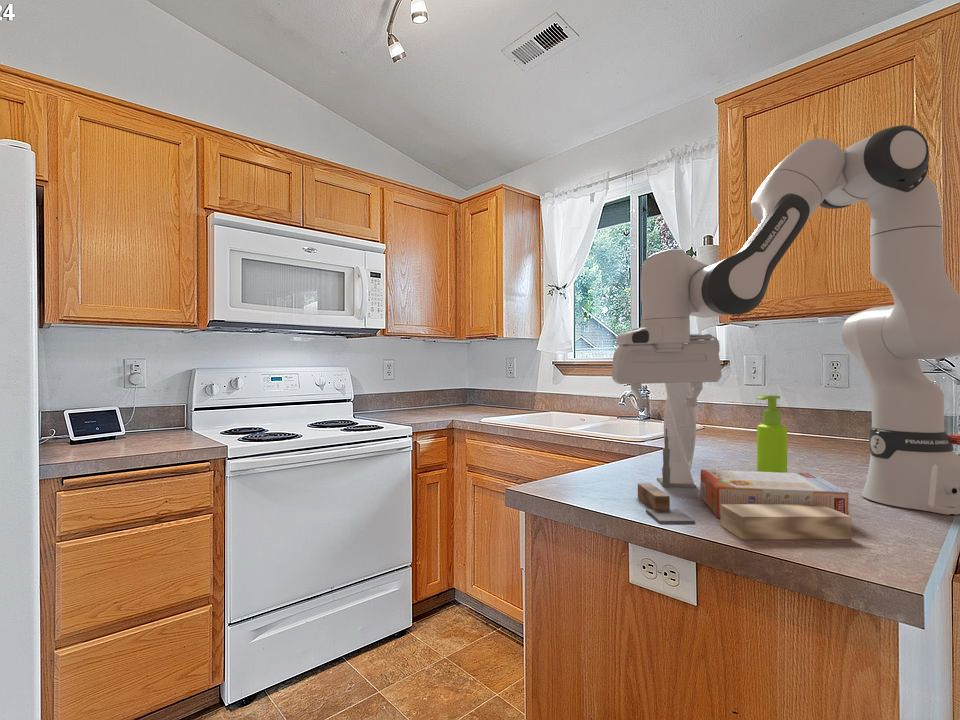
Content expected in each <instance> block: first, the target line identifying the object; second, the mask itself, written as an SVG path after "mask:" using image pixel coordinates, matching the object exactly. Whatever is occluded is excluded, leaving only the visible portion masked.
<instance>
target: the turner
mask: <svg viewBox="0 0 960 720" xmlns="http://www.w3.org/2000/svg"><path fill="white" fill-rule="evenodd" d="M637 498H639V500H640V501H641V502H642V503H643V502H644V503H643V504H645V506H647V507H648V506H649V508H645V513H646V512H647V513H646V514H647V515H649V516H650V517H651V518H652V519H653V520H654V521H656V522H657V523H658V524H660V525H669V524H670V525H673V524H674V525H675V524H676V525H681V524H682V525H686V524H687V525H688V524H689V525H694V524H696V520H695V519H693V518H692V517H690V516H689V515H687V514H686V513H685V512H684V511H682V510H681V509H679V508H670V507H671V505H670V503H671V500H670V499H671V497H670V495H669V494H667V493H665V492H664V491H663V490H662V489H660V488H658V487H656V486H655V485H654V484H652V483H649V482H647V483H641V482H639V483H637Z"/></svg>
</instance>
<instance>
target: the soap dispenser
mask: <svg viewBox="0 0 960 720" xmlns="http://www.w3.org/2000/svg"><path fill="white" fill-rule="evenodd" d="M755 399H756V400H763V401H766V400H767V408H765V409H763V419H762V420H763V422H762V423H760V424H758V425H757V426H756V472H777V473H788V426H786V425H782V421H781V419H782V418H781V417H782V411H781V410H779V408H777V399H779V400H781V395H772V394H771V395H769V394H762V395H759V396H757V397H755Z"/></svg>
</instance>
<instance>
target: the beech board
mask: <svg viewBox="0 0 960 720" xmlns="http://www.w3.org/2000/svg"><path fill="white" fill-rule="evenodd" d="M720 526H721V527H723V528H724V529H726V530H727V531H729V532H730V533H732V534H733V535H734V536H736V537H737V538H740V539H741V540H852V516H851V515H850V514H849V515H846V514H844V513H841V512H839V511H836V510H834V509H831V508H829V507H826V506H824V505H822V504H721V518H720Z"/></svg>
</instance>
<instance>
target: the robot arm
mask: <svg viewBox="0 0 960 720" xmlns="http://www.w3.org/2000/svg"><path fill="white" fill-rule="evenodd" d="M929 162H930V150H929V144H928V141H927V139H926V137H925V136H924V134H922V133H921V132H920V131H919V130H918V129H917V128H915V127H913V126H911V125H906V124H905V125H903V124H902V125H901V124H900V125H895V126H891V127H887V128H885V129H884V128H883V129H881V130H879V131H877V132H875V133H874V134H873V135H870V136H868V137H865V138H863V139H861V140H859V141H856V142H855V143H852V144H850V145H849V146H847V147H846V148H845V149H842V147H841V146H840V145H838V144H837V143H836V142H835V141H833V140H829V139H827V138H812V139H808V140H806V141H805V142H803V143H801V144H800V145H798V146H796V148H795V149H793V150H792V151H791V152H790V153H789V154H788V155H787V156H785V158H784V159H782V160H781V161H780V162H779V164H777V165H776V167H774V169H773V170H772V171H771V172H770V173H769V174H768V175H767V177H766V178H765V179H764V180H763V182H762V183H761V184H760V186H758V188H757V190H756V192H755V194H754V195H753V197H752V200H751V202H750V212H751V214H752V217H753V219H754V220H755V221H756V223H757V224H758V226H757V227H756V229H754V232H752V234H751V236H750V237H748V240H747V241H746V242H745V243H744V245H743V247H741V249H740V250H739V251H738V252H736V253H734V254H733V255H730V256H728V257H726V258H724V259H722V260H720V261H718V262H716V263H713V264H711V265H710V264H706V263H703V262H701V261H698V260H697V259H695V258H693V257H692V256H691V255H689V254H687V253H686V251H685V250H684V249H682V248H670V249H665V250H660V251H659V252H655V253H653V254H651V255H650V256H648V257H646V258H645V259H644V261H643V263H642V267H641V273H640V294H639V295H640V302H641V306H642V313H641V316H640V317H641V318H640V327H637V328H633V329H631V330H628V331H627V332H624V333H621V334H619V335H617V336H616V343H617V345H618V347H617V348H616V349H615V351H614V353H613V358H612V365H611V378H612V380H613V382H614V383H615V384H617V385H630V390H631V392H632V393H633V395H634V396H635V399H636V404H637V408H640V409H642V408H643V409H645V408H647V409H648V406H649V405H648V402H649V400H648V397H647V398H646V397H643V395H642V394H641V392H640V391H641V390H643V388H642V385H643V384H646V385H647V384H665V383H691V388H693V391H692V393H691V395H690V397H685V398H686V406H688V407H697V405H698V397H699V395H700V394H701V392H702V390H703V383H718V382H720V379H721V378H722V365H721V364H722V363H721V359H720V358H721V357H720V350H721V349H720V346H721V345H720V340H719V339H717V337H715V336H714V335H712V334H710V333H704V334H697V333H695V334H693V333H691V322H690V318H691V316H692V317H693V316H694V317H698V318H705V319H706V318H711V317H713V318H714V317H721V316H733V315H734V316H737V315H738V316H739V315H744V314H748V313H749V312H752V311H753V310H755V309H756V308H757V307H759V305H760V304H761V303H762V301H763V299H764V298H765V296H766V294H767V291H768V287H769V284H770V280H771V277H772V274H773V272H774V270H775V268H776V267H777V265H778V264H779V262H780V261H781V260H782V258H783V257H784V255H785V254H786V253H787V251H788V250H789V248H790V247H791V246H792V245H793V243H794V242H795V240H796V238H798V236H799V234H800V233H801V232H802V230H803V228H804V226H805V225H806V224H807V221H808V220H809V219H810V217H811V216H812V215H813V214H814V213H815V212H816V210H817V209H818V208H819V207H821V208H824V209H828V210H829V209H830V210H836V209H844V208H848V207H850V206H852V205H854V204H859V203H862V202H864V203H865V204H866V206H867V207H868V209H869V212H870V222H869V223H870V225H869V247H870V248H869V253H870V254H869V256H870V257H869V258H870V274H871V276H872V278H873V279H874V280H876V281H877V282H878V283H880V284H883V285H885V286H887V288H888V290H889V291H890V293H891V296H892V298H893V303H894V304H892V305H890V304H889V305H882V306H876V307H875V306H874V307H871V308H868V309H864V310H861V311H859V312H856V313H854V314H852V315H850V316H849V317H848V318H847V319H846V320H845V322H844V323H843V325H842V328H841V340H842V343H843V345H844V347H845V349H846V350H847V351H849V353H851V355H853V356H854V357H855V358H856V359H857V360H858V362H859V363H860V365H861V367H862V370H863V371H864V374H865V375H866V378H867V382H868V386H869V391H870V401H871V402H870V403H871V404H870V405H871V426H870V427H869V428H868V445H869V450H870V456H869V457H870V458H869V463H868V464H869V465H868V471H867V476H866V479H865V480H866V481H865V484H864V487H863V488H862V489H863V490H862V493H861V496H862V497H863V498H865V499H867V500H870V501H873V502H875V503H879V504H883V505H888V506H894V507H898V508H904V509H911V510H919V511H925V512H926V511H927V512H932V513H937V514H942V515H949V516H951V515H950V514H954V515H960V455H958V454H957V453H956V452H955V451H954V450H955V449H954V447H953V445H958V446H960V434H957V433H952V434H950V435H949V434H948V433H947V432H946V431H945V396H944V395H945V394H944V391H943V390H942V389H941V387H940V386H939V385H938V384H937V383H935V382H933V381H931V380H930V379H929V378H928V377H927V376H926V375H925V373H924V372H923V370H922V368H921V365H920V362H919V360H927V359H928V360H931V359H932V360H935V359H936V360H939V359H943V360H944V359H946V358H947V359H948V358H953V357H958V356H960V294H959V292H958V291H957V290H956V289H955V287H954V286H953V284H952V282H951V281H950V278H949V277H948V274H947V271H946V266H945V259H944V247H943V221H942V211H941V204H940V200H939V196H938V192H937V190H936V189H937V188H936V185H935V183H934V182H933V180H931V179H930V178H929V177H927V174H928V171H929Z"/></svg>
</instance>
